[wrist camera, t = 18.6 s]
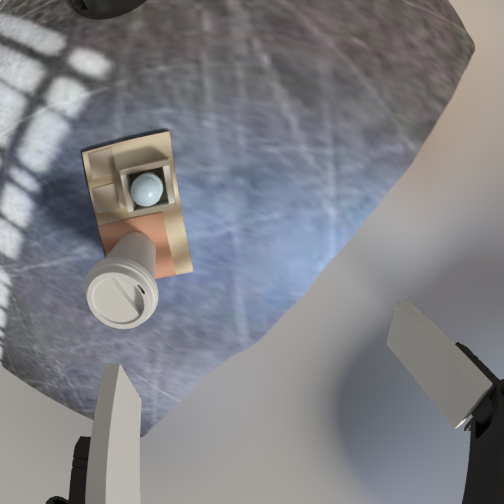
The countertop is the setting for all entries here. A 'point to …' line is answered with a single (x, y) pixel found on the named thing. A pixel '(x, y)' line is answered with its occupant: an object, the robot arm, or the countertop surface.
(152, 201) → the dome
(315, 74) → the countertop surface
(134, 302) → the coffee cup
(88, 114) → the countertop surface
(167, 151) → the board
